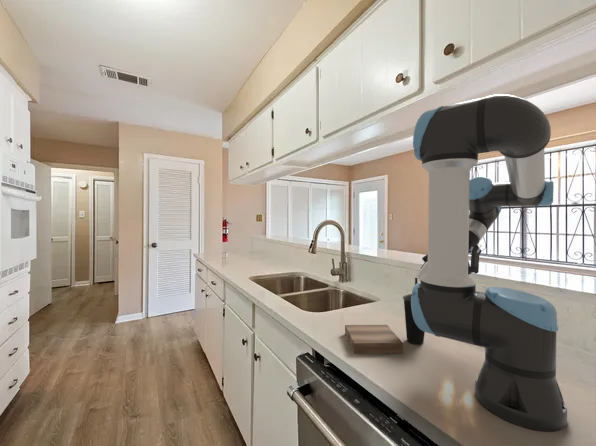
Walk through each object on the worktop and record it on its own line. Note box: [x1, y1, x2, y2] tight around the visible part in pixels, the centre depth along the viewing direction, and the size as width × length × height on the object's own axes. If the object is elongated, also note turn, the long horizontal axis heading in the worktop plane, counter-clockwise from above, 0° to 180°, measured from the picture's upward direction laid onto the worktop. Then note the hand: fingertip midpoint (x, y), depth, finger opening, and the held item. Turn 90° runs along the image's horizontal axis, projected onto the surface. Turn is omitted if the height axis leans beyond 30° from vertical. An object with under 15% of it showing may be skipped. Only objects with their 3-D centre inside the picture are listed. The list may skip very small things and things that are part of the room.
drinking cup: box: [402, 277, 426, 346], centre depth 91 cm, size 8×8×20 cm
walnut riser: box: [344, 324, 404, 355], centre depth 90 cm, size 14×14×3 cm
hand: (434, 282), depth 94 cm, fingers open, 13 cm apart
